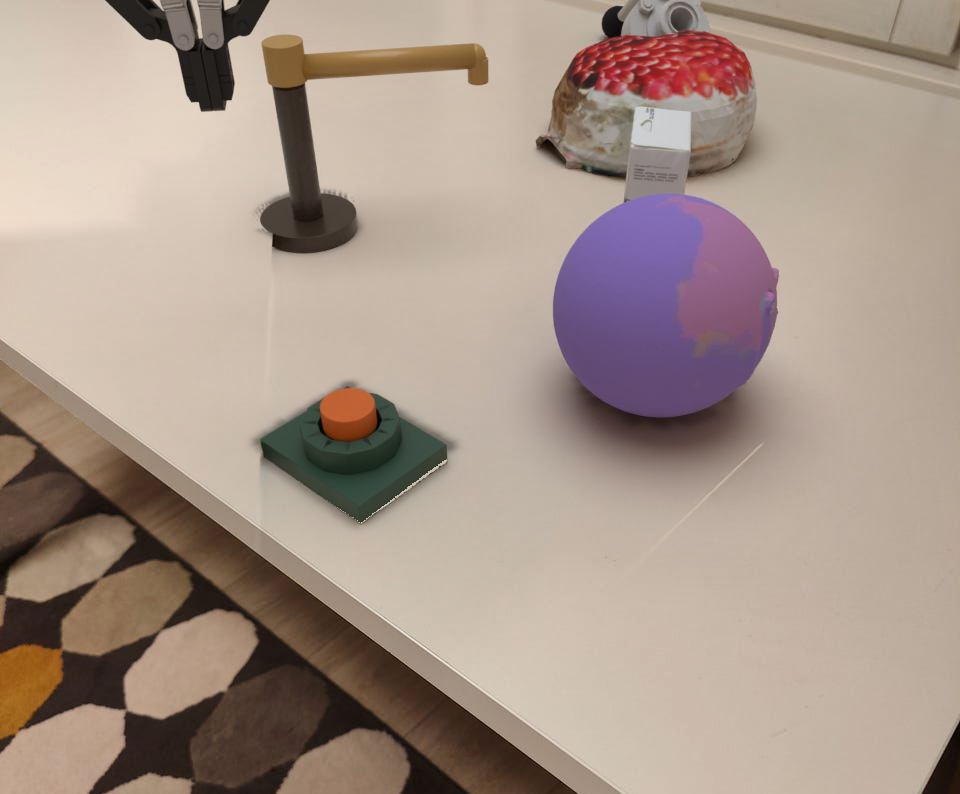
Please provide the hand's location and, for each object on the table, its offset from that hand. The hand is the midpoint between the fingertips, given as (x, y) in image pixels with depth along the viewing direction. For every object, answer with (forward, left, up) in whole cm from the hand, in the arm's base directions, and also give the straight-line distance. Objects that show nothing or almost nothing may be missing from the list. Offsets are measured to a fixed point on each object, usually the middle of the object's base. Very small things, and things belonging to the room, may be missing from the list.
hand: (214, 106), depth 59 cm
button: (+6, -11, -17) cm, 21 cm away
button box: (+6, -11, -21) cm, 24 cm away
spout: (+11, +23, -8) cm, 27 cm away
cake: (+39, +39, -21) cm, 59 cm away
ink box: (+33, +13, -21) cm, 41 cm away
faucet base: (+3, +23, -21) cm, 31 cm away
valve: (+45, +61, -21) cm, 79 cm away
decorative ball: (+28, -7, -21) cm, 36 cm away
